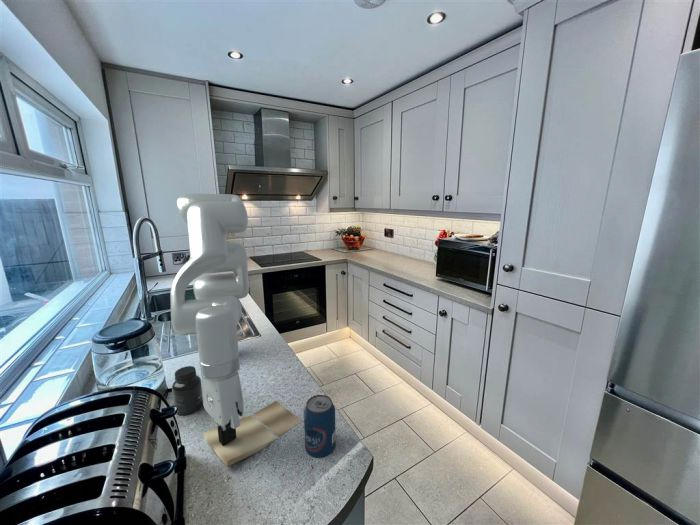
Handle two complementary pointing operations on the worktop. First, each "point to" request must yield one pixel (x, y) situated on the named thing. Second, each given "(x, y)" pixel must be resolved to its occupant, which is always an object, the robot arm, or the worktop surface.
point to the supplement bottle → (187, 391)
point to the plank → (241, 440)
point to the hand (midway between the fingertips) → (227, 440)
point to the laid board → (277, 418)
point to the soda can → (319, 426)
